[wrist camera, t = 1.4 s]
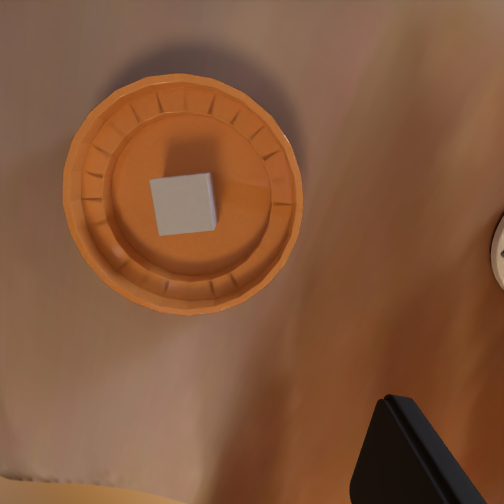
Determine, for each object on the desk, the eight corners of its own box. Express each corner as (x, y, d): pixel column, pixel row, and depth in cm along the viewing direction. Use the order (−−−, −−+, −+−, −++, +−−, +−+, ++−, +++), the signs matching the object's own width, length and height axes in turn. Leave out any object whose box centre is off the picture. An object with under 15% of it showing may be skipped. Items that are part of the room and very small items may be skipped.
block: (212, 171, 31) (206, 173, 27) (219, 221, 33) (214, 230, 28) (162, 177, 32) (148, 179, 27) (170, 226, 33) (158, 236, 28)
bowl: (287, 74, 30) (293, 59, 26) (302, 285, 35) (310, 303, 30) (65, 99, 30) (35, 89, 26) (111, 305, 35) (91, 325, 31)
